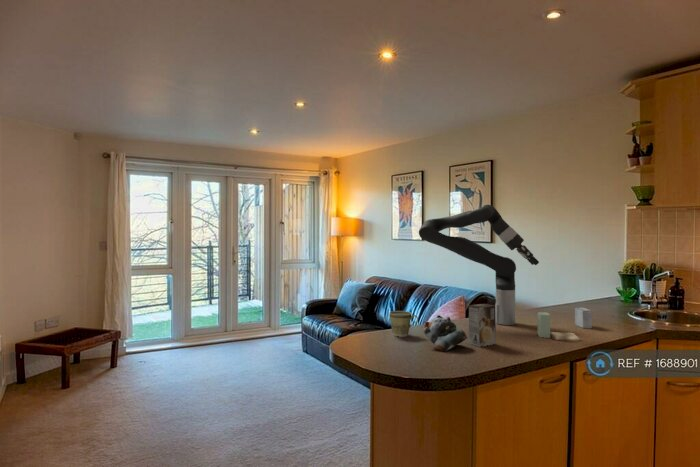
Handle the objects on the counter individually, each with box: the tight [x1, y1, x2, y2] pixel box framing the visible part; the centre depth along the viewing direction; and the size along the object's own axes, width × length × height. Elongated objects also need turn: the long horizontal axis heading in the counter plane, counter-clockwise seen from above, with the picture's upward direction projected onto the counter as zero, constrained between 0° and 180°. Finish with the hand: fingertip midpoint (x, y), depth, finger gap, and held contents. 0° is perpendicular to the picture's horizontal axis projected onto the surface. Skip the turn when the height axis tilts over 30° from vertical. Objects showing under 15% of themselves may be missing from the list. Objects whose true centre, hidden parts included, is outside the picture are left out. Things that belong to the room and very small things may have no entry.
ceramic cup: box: [389, 310, 419, 338], centre depth 193 cm, size 13×10×10 cm
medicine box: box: [574, 307, 593, 329], centre depth 211 cm, size 8×4×9 cm, turn 179°
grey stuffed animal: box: [422, 314, 468, 352], centre depth 174 cm, size 15×12×14 cm
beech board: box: [550, 331, 582, 342], centre depth 190 cm, size 11×12×1 cm
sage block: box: [537, 311, 551, 339], centre depth 192 cm, size 4×6×10 cm, turn 168°
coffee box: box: [468, 303, 497, 348], centre depth 178 cm, size 9×6×16 cm
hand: (535, 263), depth 202 cm, fingers open, 8 cm apart
